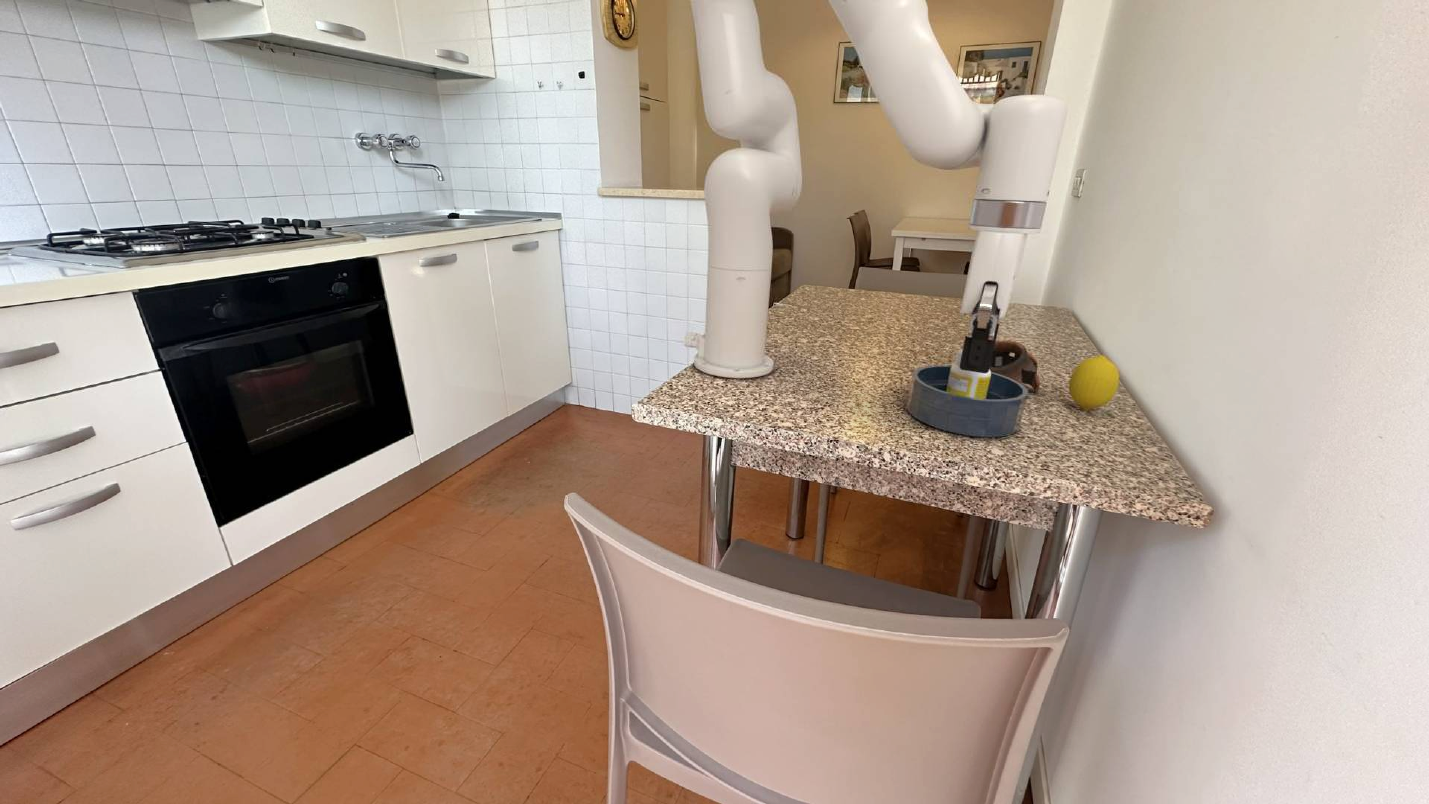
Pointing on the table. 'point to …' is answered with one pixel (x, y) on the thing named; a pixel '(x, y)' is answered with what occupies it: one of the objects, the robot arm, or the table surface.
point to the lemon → (1094, 382)
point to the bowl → (966, 404)
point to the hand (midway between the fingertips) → (976, 360)
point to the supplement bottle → (967, 381)
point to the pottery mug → (1015, 363)
